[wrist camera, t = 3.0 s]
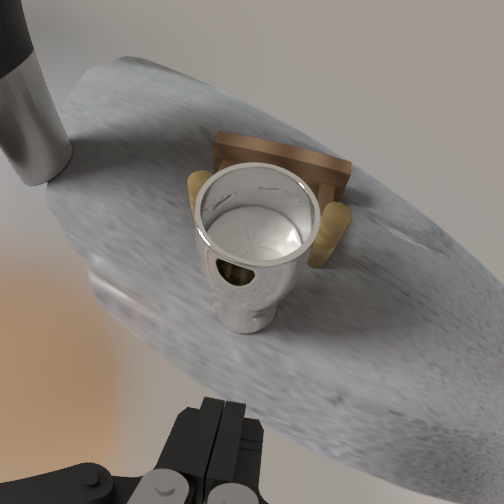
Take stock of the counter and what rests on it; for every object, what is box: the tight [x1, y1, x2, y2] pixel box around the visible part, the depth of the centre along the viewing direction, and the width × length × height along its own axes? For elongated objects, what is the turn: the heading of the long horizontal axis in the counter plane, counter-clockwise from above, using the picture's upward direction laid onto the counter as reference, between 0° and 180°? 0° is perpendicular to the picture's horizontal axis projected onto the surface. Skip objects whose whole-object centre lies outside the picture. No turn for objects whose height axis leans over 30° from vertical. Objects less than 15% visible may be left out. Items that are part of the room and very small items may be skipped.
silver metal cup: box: [194, 162, 321, 334], centre depth 22 cm, size 7×7×15 cm
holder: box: [187, 131, 352, 268], centre depth 30 cm, size 15×11×8 cm
